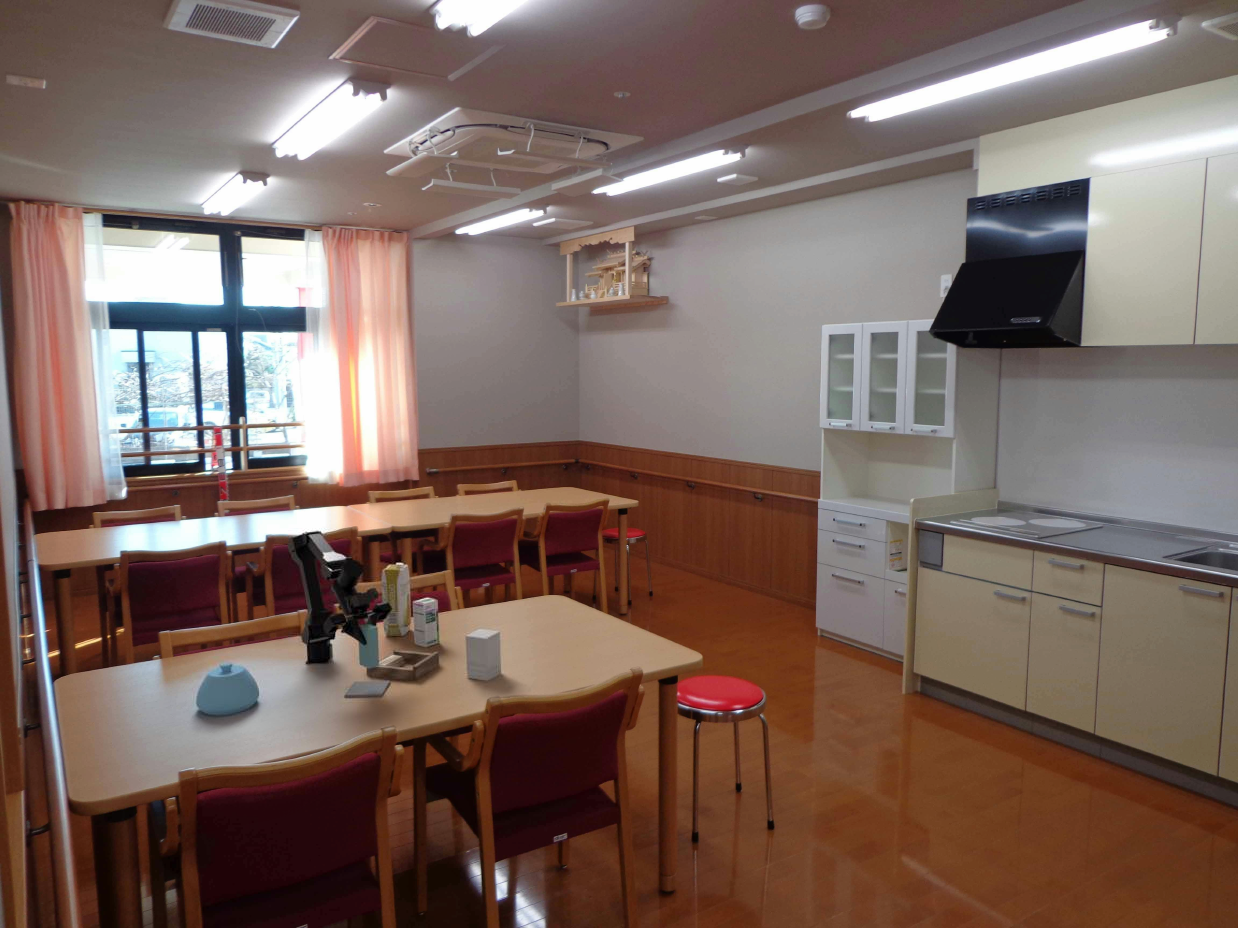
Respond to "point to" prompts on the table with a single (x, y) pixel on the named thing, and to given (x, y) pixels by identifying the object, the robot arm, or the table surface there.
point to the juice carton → (397, 599)
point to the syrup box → (426, 622)
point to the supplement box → (483, 654)
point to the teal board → (369, 646)
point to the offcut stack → (392, 661)
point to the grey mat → (367, 689)
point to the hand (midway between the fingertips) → (371, 642)
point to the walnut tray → (421, 668)
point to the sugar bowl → (227, 690)
